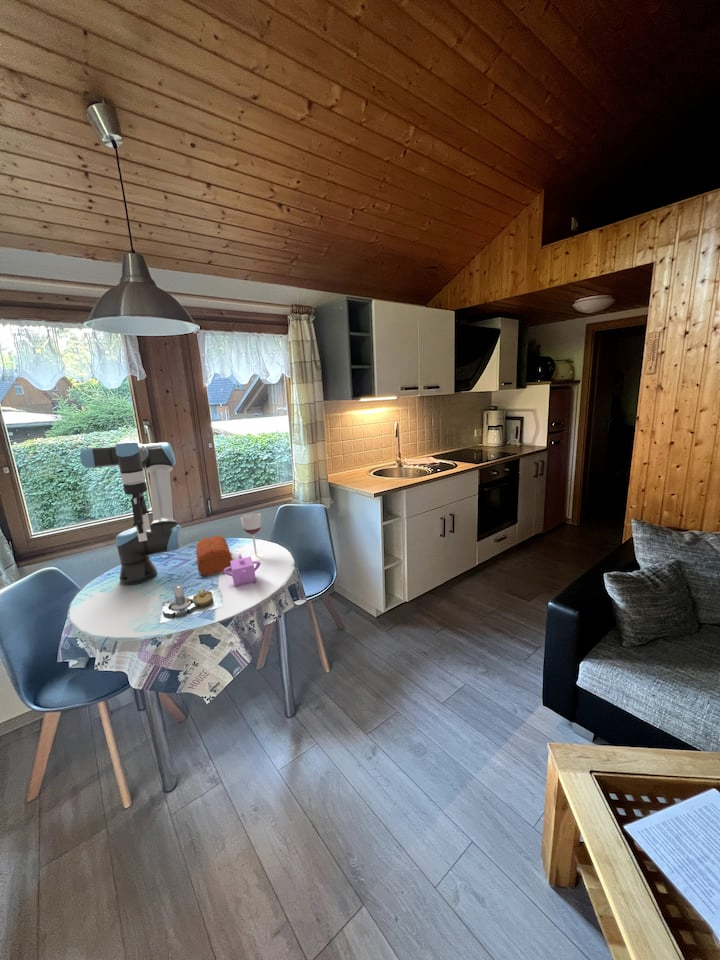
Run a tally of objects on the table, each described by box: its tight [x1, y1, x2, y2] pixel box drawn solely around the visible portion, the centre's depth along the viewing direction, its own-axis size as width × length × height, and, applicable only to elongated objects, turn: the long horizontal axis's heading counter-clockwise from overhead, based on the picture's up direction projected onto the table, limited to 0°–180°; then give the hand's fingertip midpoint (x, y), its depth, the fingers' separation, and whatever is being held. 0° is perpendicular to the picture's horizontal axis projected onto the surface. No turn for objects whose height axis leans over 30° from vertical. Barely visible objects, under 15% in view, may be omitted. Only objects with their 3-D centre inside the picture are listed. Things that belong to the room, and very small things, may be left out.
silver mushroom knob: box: [171, 584, 191, 611], centre depth 148 cm, size 7×7×8 cm
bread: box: [195, 535, 233, 577], centre depth 190 cm, size 16×27×11 cm, turn 25°
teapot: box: [223, 553, 261, 588], centre depth 167 cm, size 15×13×11 cm
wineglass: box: [240, 512, 266, 562], centre depth 192 cm, size 9×10×22 cm
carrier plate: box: [159, 588, 225, 624], centre depth 150 cm, size 16×22×3 cm
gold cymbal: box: [193, 589, 213, 606], centre depth 151 cm, size 7×7×4 cm
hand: (145, 535), depth 151 cm, fingers open, 13 cm apart
